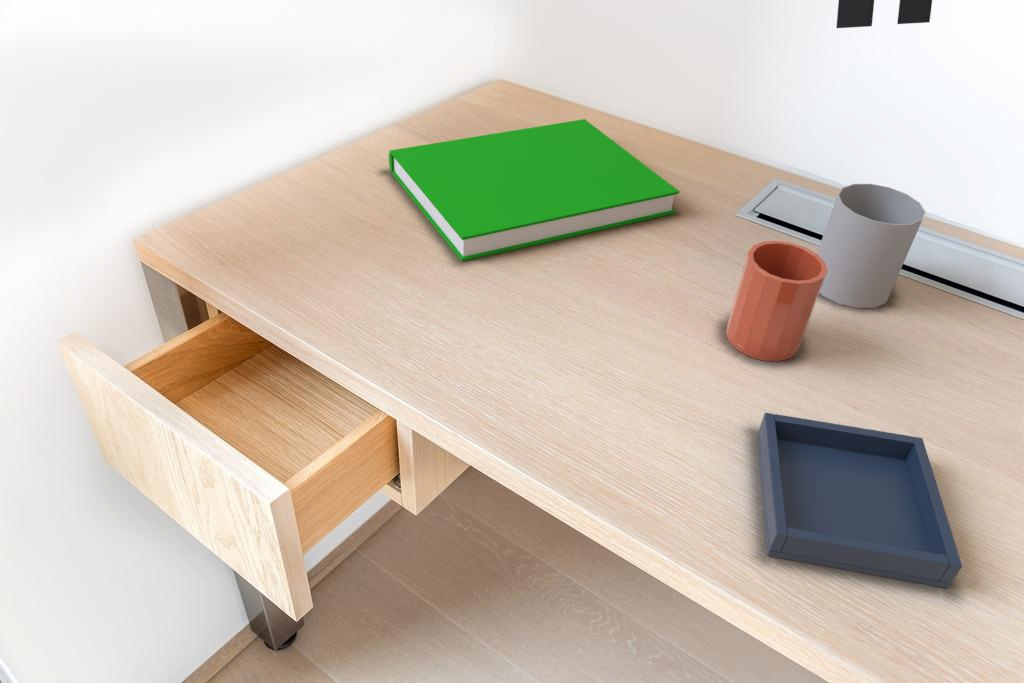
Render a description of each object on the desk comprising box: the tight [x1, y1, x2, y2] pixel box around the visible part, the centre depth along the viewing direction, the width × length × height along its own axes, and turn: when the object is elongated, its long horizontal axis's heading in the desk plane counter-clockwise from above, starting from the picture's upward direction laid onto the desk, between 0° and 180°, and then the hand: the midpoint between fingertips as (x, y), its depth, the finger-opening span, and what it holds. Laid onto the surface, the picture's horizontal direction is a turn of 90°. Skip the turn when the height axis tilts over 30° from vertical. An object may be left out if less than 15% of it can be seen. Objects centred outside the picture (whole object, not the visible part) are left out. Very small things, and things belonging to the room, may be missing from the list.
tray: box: [756, 412, 963, 589], centre depth 61 cm, size 13×13×3 cm
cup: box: [816, 183, 926, 309], centre depth 83 cm, size 8×8×10 cm
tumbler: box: [725, 240, 827, 362], centre depth 75 cm, size 7×7×9 cm
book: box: [388, 118, 680, 262], centre depth 97 cm, size 22×28×3 cm
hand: (885, 25), depth 72 cm, fingers open, 13 cm apart
